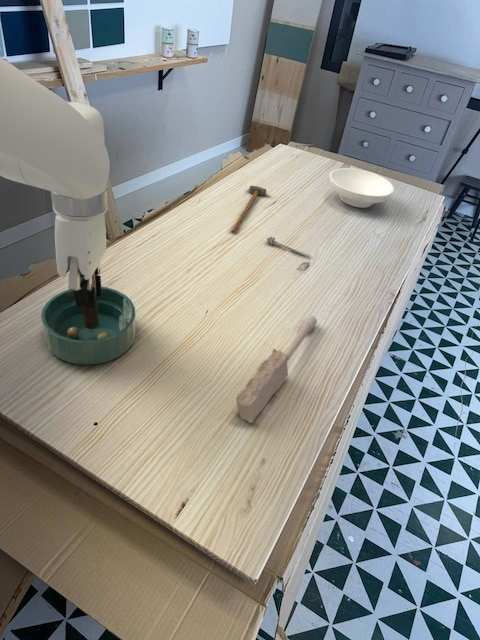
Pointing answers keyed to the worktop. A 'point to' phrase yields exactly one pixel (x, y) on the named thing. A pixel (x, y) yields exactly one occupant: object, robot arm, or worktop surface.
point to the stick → (91, 310)
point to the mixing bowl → (87, 348)
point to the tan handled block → (269, 377)
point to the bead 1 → (73, 332)
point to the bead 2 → (103, 335)
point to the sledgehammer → (250, 202)
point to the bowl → (360, 187)
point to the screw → (271, 240)
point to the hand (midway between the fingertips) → (89, 299)
